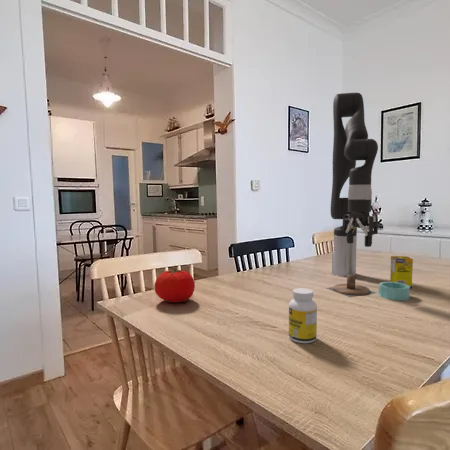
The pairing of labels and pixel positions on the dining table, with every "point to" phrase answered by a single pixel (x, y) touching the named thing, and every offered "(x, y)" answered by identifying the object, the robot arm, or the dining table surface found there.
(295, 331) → the pill bottle
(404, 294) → the bowl
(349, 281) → the lid
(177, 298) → the tomato
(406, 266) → the supplement box
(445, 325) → the dining table surface
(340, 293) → the mat
